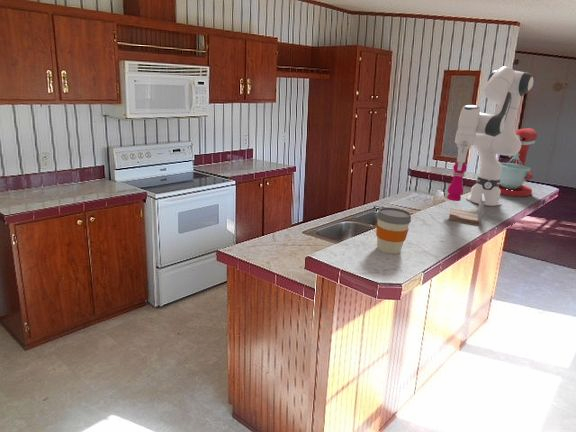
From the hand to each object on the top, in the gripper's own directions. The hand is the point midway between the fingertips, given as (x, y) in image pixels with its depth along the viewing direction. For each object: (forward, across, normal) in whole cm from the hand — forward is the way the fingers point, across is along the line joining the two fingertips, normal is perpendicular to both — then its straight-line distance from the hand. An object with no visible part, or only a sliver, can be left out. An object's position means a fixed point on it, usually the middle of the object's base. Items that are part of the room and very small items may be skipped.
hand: (459, 168), depth 224 cm
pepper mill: (+15, 0, 0) cm, 16 cm away
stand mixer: (+25, +86, -34) cm, 95 cm away
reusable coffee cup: (+23, -66, +20) cm, 72 cm away
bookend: (+24, 0, -7) cm, 25 cm away
